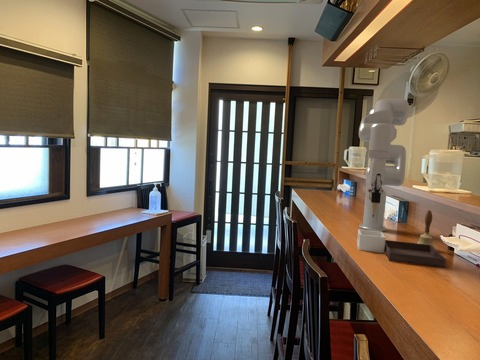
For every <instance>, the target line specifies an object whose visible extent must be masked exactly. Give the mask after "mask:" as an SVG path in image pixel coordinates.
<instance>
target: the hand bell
mask: <svg viewBox="0 0 480 360" xmlns="http://www.w3.org/2000/svg"><path fill="white" fill-rule="evenodd" d="M426 211H427V212H426V214H425V216H424V225H425V228H424V231H423V232H424V233H421V234H420V235H419V238H418V241H417V243H418V244H427V245H432V246H433V247H434V248H435V246H434V241H433V236H431V234H430V229H431V228H430V227H431V224H432V222H433V214H432V210H431V209H430V210H429V209H428V210H426ZM435 249H436V248H435Z"/></svg>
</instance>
